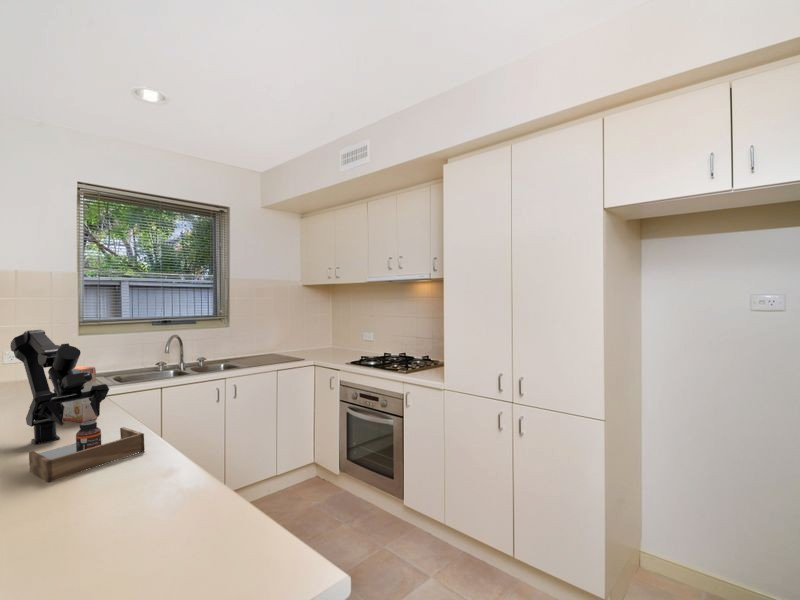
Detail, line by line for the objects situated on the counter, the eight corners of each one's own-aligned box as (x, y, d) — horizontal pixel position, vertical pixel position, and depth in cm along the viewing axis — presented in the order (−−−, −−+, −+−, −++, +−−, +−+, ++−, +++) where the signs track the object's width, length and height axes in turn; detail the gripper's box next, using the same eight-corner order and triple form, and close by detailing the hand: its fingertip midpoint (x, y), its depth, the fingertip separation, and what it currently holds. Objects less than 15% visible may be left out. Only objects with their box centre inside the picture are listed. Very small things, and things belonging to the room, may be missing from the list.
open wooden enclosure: (29, 471, 115) (28, 452, 115) (124, 443, 135) (123, 427, 135) (47, 482, 108) (46, 461, 108) (144, 451, 128) (143, 433, 128)
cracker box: (98, 418, 164) (96, 366, 163) (81, 423, 158) (79, 369, 158) (78, 415, 170) (76, 364, 169) (61, 419, 164) (58, 367, 164)
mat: (34, 455, 127) (34, 454, 127) (87, 440, 139) (87, 439, 139) (52, 465, 120) (52, 463, 120) (107, 448, 131) (107, 447, 131)
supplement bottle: (88, 465, 119) (86, 426, 118) (71, 464, 120) (69, 425, 120) (107, 457, 124) (105, 419, 124) (90, 456, 126) (89, 419, 125)
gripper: (31, 368, 119) (48, 411, 113) (105, 358, 135) (123, 396, 129) (23, 393, 123) (39, 435, 118) (95, 380, 139) (112, 417, 133)
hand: (80, 420), depth 124 cm, fingers open, 9 cm apart
